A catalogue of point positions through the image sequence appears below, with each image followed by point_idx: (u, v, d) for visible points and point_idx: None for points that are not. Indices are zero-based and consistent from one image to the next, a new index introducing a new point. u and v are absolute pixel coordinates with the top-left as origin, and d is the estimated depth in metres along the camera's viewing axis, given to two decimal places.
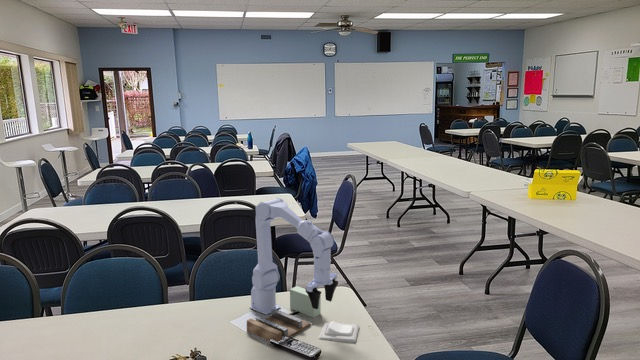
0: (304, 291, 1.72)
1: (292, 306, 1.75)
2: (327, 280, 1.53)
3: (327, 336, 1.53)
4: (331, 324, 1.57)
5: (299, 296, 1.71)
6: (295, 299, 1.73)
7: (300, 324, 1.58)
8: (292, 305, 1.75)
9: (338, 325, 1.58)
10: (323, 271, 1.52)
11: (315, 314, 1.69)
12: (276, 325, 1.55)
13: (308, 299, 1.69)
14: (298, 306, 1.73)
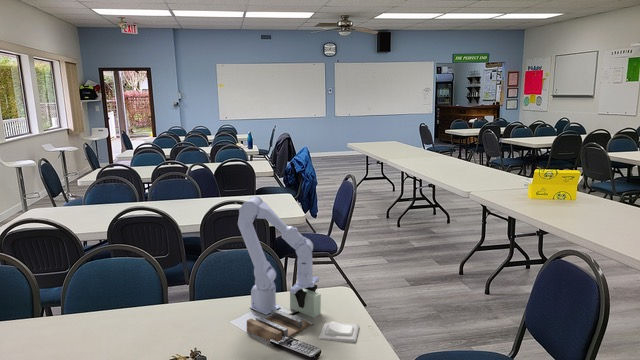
0: (304, 291, 1.72)
1: (292, 305, 1.75)
2: (309, 283, 1.69)
3: (327, 336, 1.53)
4: (331, 324, 1.57)
5: None
6: (295, 299, 1.73)
7: (300, 324, 1.58)
8: (292, 305, 1.75)
9: (338, 325, 1.58)
10: (305, 275, 1.68)
11: (315, 314, 1.69)
12: (276, 325, 1.55)
13: (308, 299, 1.69)
14: (298, 306, 1.73)
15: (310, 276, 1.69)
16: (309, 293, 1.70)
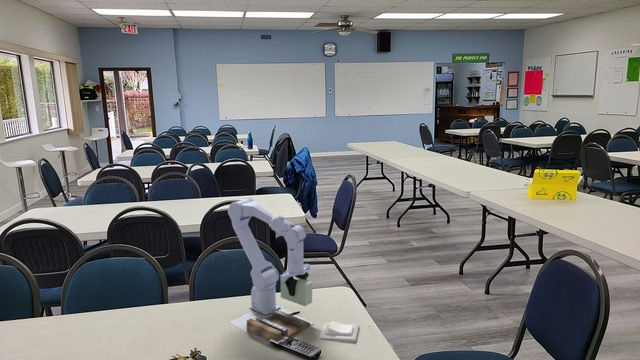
0: None
1: (282, 294, 1.69)
2: (300, 270, 1.63)
3: (327, 336, 1.53)
4: (331, 324, 1.57)
5: None
6: (286, 288, 1.67)
7: (300, 324, 1.58)
8: (283, 294, 1.68)
9: (338, 325, 1.58)
10: (296, 262, 1.62)
11: (307, 303, 1.63)
12: (276, 325, 1.55)
13: (299, 287, 1.63)
14: (289, 295, 1.66)
15: (301, 263, 1.63)
16: (301, 282, 1.64)
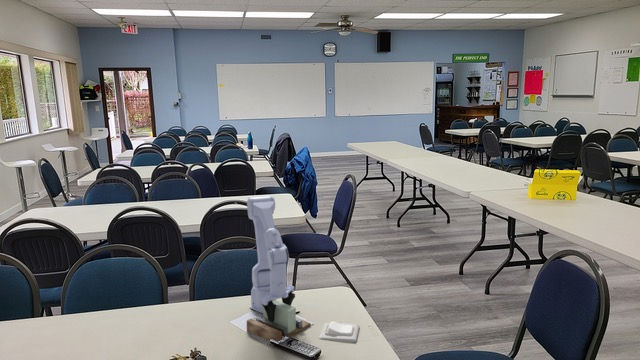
0: (278, 304, 1.59)
1: None
2: (283, 293, 1.56)
3: (327, 336, 1.53)
4: (331, 324, 1.57)
5: None
6: None
7: (300, 324, 1.58)
8: None
9: (338, 325, 1.58)
10: (278, 284, 1.54)
11: (290, 330, 1.55)
12: (276, 325, 1.55)
13: (282, 313, 1.55)
14: None
15: (284, 286, 1.55)
16: (283, 307, 1.56)
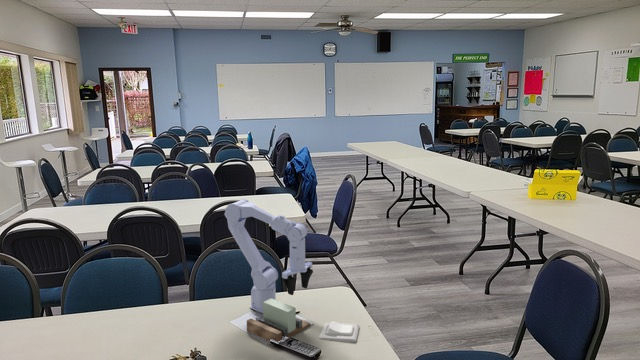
0: (278, 304, 1.59)
1: None
2: (302, 268, 1.65)
3: (327, 336, 1.53)
4: (331, 324, 1.57)
5: (273, 309, 1.58)
6: (269, 313, 1.59)
7: (300, 324, 1.58)
8: None
9: (338, 325, 1.58)
10: (298, 260, 1.64)
11: (290, 330, 1.55)
12: (276, 325, 1.55)
13: (282, 313, 1.55)
14: (271, 320, 1.59)
15: (302, 261, 1.65)
16: (283, 307, 1.56)
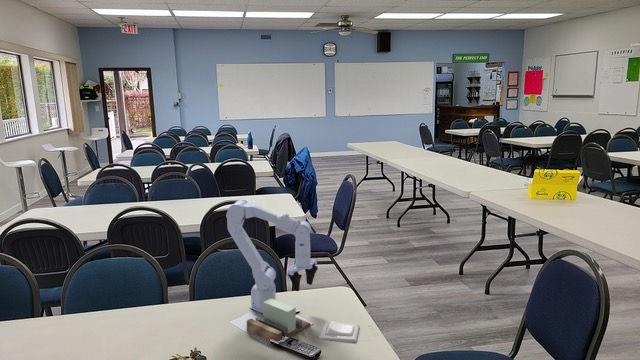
0: (278, 304, 1.59)
1: None
2: (307, 265, 1.68)
3: (328, 336, 1.54)
4: (331, 324, 1.57)
5: (273, 309, 1.58)
6: (269, 313, 1.59)
7: (300, 324, 1.58)
8: None
9: (338, 325, 1.58)
10: (303, 256, 1.67)
11: (290, 330, 1.55)
12: (276, 325, 1.55)
13: (282, 313, 1.55)
14: (271, 320, 1.59)
15: (308, 258, 1.68)
16: (283, 307, 1.56)
